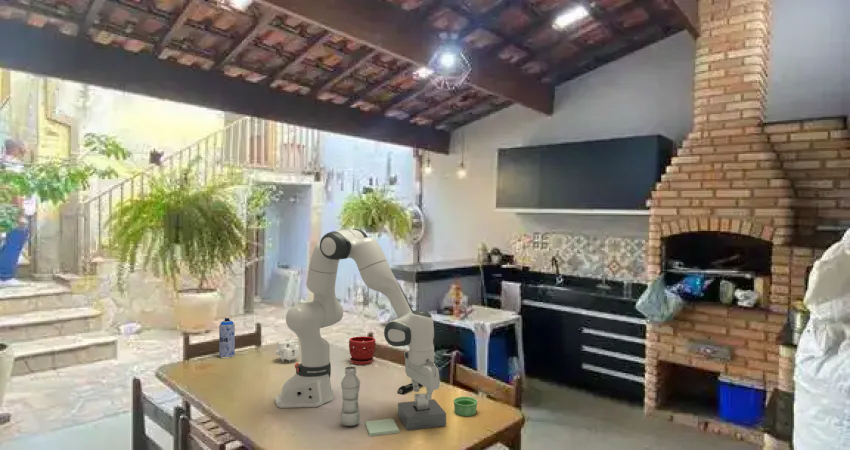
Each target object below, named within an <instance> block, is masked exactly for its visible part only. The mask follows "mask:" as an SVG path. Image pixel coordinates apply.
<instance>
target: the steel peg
mask: <svg viewBox="0 0 850 450" xmlns="http://www.w3.org/2000/svg"><path fill="white" fill-rule="evenodd" d="M426 393H427V392H426ZM426 393H425V392H424V393H421V392H420V393H414V401H415V410H416V411H424V410H428V400H427V399H425V394H426Z"/></svg>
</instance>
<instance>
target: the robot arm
mask: <svg viewBox="0 0 850 450" xmlns="http://www.w3.org/2000/svg"><path fill="white" fill-rule="evenodd" d="M346 259H352V260H353V261H354V262H355V264H356V266H357V269H358V272H359V275H360V278H361V279H362V281H363V283H364V284H365V286H366V287H368V289H371V290H373V291H376V292H378V293H381V294H383V295H384V296H385V297H387V300H388V301H389V303H390V305H391V307H392V309H393V311H394V313H395V314H396V317H397V318H395V319H393V320H391V321H389V322H388V323H387V324H386V325H385V327H384V328H383V329H384V330H383V336H384V339H385V341H386V342H387V344H389V345H390V346H392V347H404V346H408V348H409V350H405V351H404V352H403V356H404V358H405V359H404V370H405V374H406V376H407V377H408V378H409V379H411V383H412V384H413V390H412V391H414V392H415V393H417V392H418V393H419V391H420V388H419V386H418V383H419V384H421V385H423V386H422V387H424V388H425V390H426V394H425V399H427V400H431V399H433V398H432V395H433V393H434V391H436V390H439V388H440V385H441V383H440V374H439V369H438V367H437V366H436V363H435V346H434V338H435V327H434V318H433V316H432V315H431V314H430V313H429V312H427V311H426V310H419V309H418V310H416V309H415V310H413V308H412V306H411V304H410V301H409V300H408V298H407V296H406V294H405V293H404V290H403V288H402V287H401V284H400V283H399V281H398V280H397V278H396V276H395V275H394V272H393V271H392V269H391V267H390V264H389V261H388V259H387V257H386V255H385V252H384V251H383V249H382V247H381V245H380V244H379V242H378V241H377V240H376V239H375V238H374V237H370V236H369V237H368V235H367V233H366V232H364V231H363V230H361V229H358V228H352V229H351V228H343V229H340V230H334V231H329V232H327V233H325V234H324V235H323V236H322V237H321V239H320V241H318V242H317V243H316V244H315V245H314V248H313V250H312V253H311V257H310V260H309V264H308V265H309V266H308V271H307V277H306V283H305V284H306V288H307V289H308V290H309V291H310V292H311V293H313V300H312V301H309V302H302V303H298V304H296V305H294V306H292V307H290V308H289V309H288V310H287V312H286V315H285V322H286V323H285V324H286V326H287V327H288V329H289V330H290V331H291V332H293V333H294V334H295V335H296V336H297V338H298V339H297V340H298V342H299V346H300V357H301V361H300V362H301V363H299V362H296V363H295V364H294V369H295V374H294V375H292V377H290V378H288V380H286V381H285V382H284V383H283V386H282V388H281V391H280V393H278V394H277V395H276V396H275V403H274V404H275V405H276V407H278V408H281V409H283V408H284V409H286V408H287V409H288V408H289V409H291V408H293V409H294V408H317V407H321V406H322V405H323V404H326V403H328V402H331V401H332V400H333V399H334V397H335V396H334V393H333V389H332V383H331V374H332V365H331V361H330V355H331V354H330V349H331V348H330V346H331V345H330V342H329V341H327V340H326V338H323V337H322V336H321V333H320V332H321V330H320V329H322V328H326V327H331V326H333V325H335V324H337V323H339V322H341V320H342V319H343V317H344V308H343V305H342V303H341V302H340V301H339V300H338V299H337V296H336V290H335V289H336V283H337V274H338V268H339V267H338V266H339V263H340V260H346Z"/></svg>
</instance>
